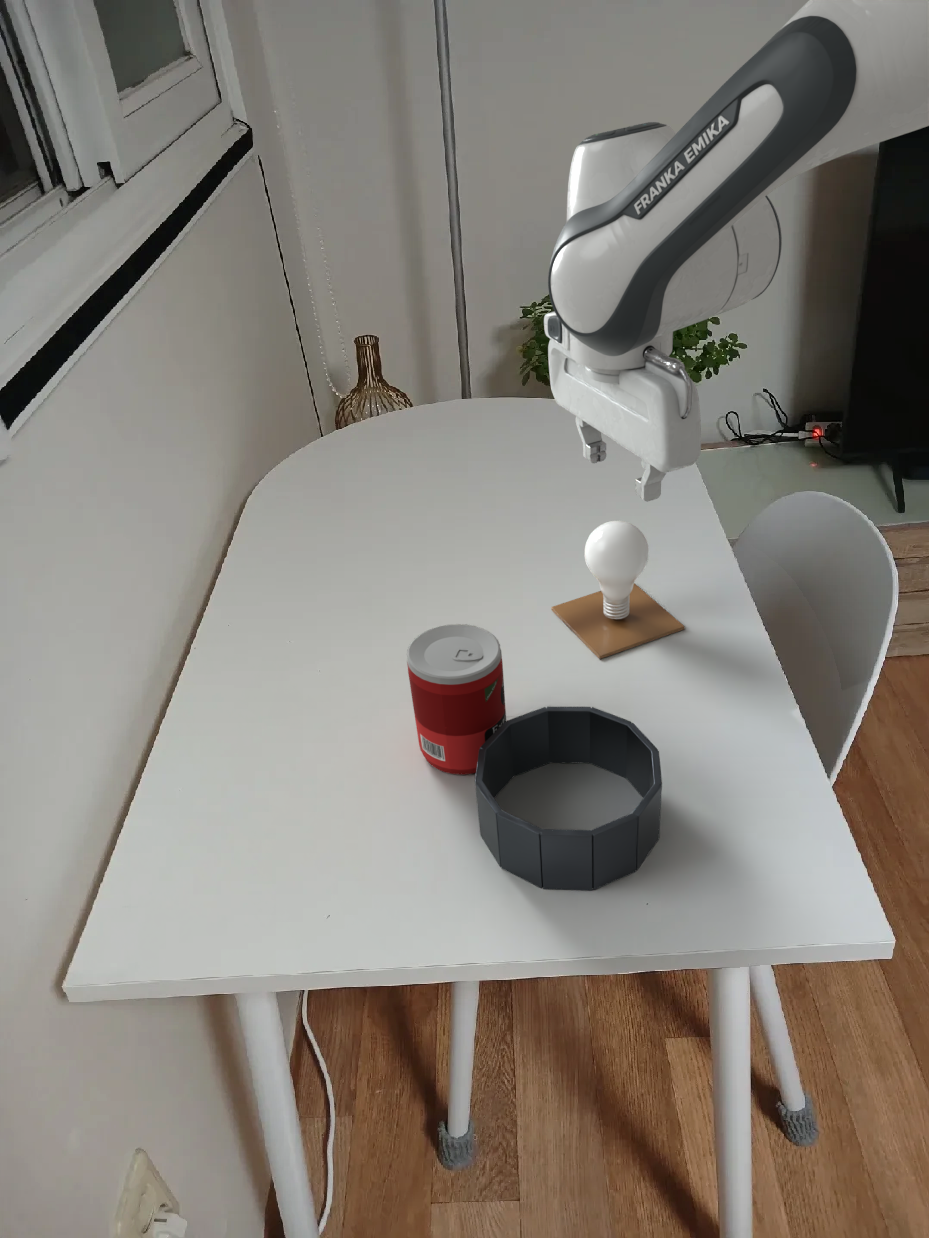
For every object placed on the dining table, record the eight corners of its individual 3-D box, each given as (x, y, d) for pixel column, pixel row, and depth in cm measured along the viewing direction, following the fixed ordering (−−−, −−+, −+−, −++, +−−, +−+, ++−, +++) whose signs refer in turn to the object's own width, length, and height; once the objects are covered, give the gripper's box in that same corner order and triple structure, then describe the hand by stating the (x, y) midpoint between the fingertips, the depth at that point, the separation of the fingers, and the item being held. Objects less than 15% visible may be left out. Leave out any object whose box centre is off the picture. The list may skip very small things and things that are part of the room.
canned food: (508, 775, 82) (501, 676, 76) (416, 779, 83) (402, 680, 76) (507, 717, 88) (501, 620, 82) (422, 720, 89) (409, 625, 83)
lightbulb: (643, 598, 102) (645, 507, 95) (651, 633, 96) (653, 539, 90) (583, 601, 102) (581, 511, 96) (588, 636, 97) (586, 543, 91)
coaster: (684, 629, 97) (684, 626, 97) (599, 659, 94) (599, 656, 94) (631, 583, 105) (631, 580, 105) (551, 609, 102) (551, 606, 102)
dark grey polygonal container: (693, 846, 74) (698, 792, 71) (531, 917, 70) (528, 862, 66) (599, 738, 85) (599, 686, 82) (454, 794, 81) (448, 741, 77)
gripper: (725, 358, 75) (715, 513, 83) (593, 299, 91) (594, 433, 99) (657, 376, 73) (653, 533, 81) (534, 312, 89) (541, 448, 97)
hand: (620, 477), depth 90 cm, fingers open, 8 cm apart
